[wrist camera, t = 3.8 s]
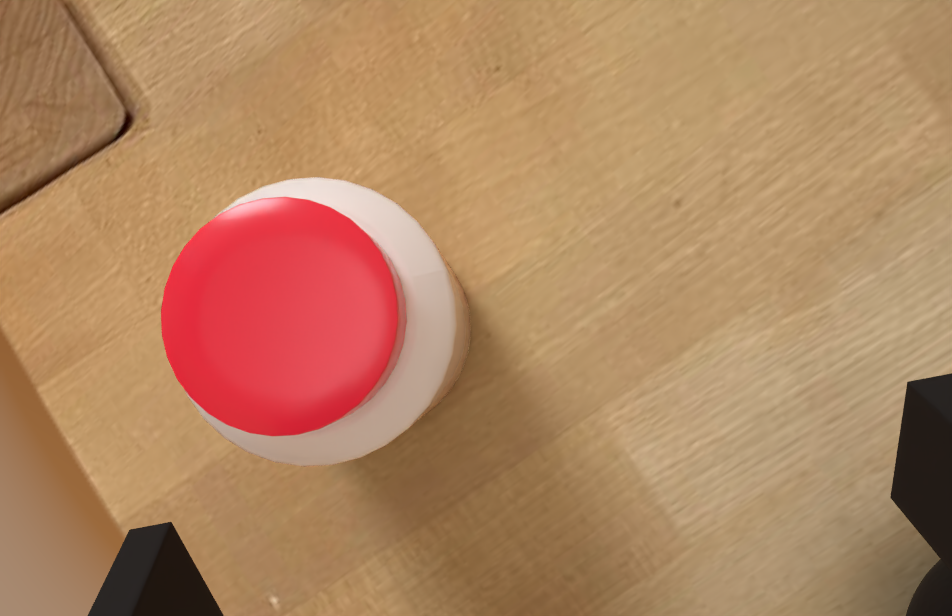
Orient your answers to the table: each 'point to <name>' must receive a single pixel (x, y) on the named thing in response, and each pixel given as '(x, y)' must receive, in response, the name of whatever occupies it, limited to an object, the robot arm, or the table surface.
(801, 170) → the table surface
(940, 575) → the decorative ball
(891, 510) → the table surface
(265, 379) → the pill bottle
